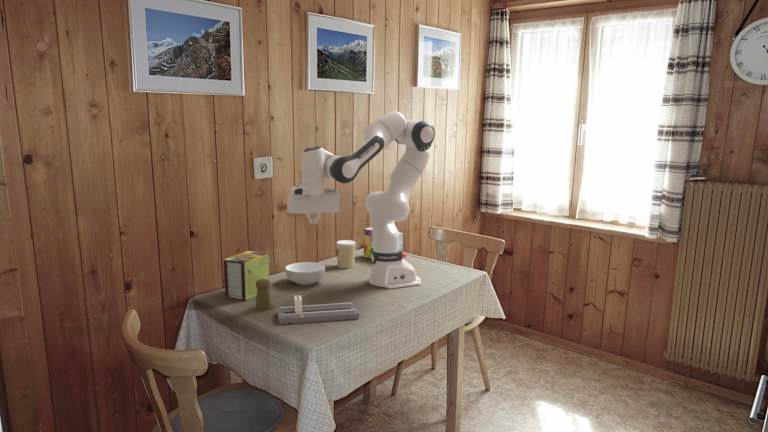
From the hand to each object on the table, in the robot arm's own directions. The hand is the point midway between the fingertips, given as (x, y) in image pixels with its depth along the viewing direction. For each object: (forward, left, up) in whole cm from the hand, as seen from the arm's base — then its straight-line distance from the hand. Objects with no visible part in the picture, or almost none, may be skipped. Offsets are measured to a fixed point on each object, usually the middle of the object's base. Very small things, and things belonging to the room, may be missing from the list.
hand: (313, 224), depth 210 cm
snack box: (-39, -48, -29) cm, 69 cm away
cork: (+20, +10, -29) cm, 37 cm away
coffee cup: (-19, -39, -29) cm, 52 cm away
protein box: (+26, -8, -29) cm, 40 cm away
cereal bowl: (+2, -18, -29) cm, 35 cm away
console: (+1, +22, -29) cm, 36 cm away
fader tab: (+8, +22, -27) cm, 36 cm away
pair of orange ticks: (+7, +22, -27) cm, 36 cm away
